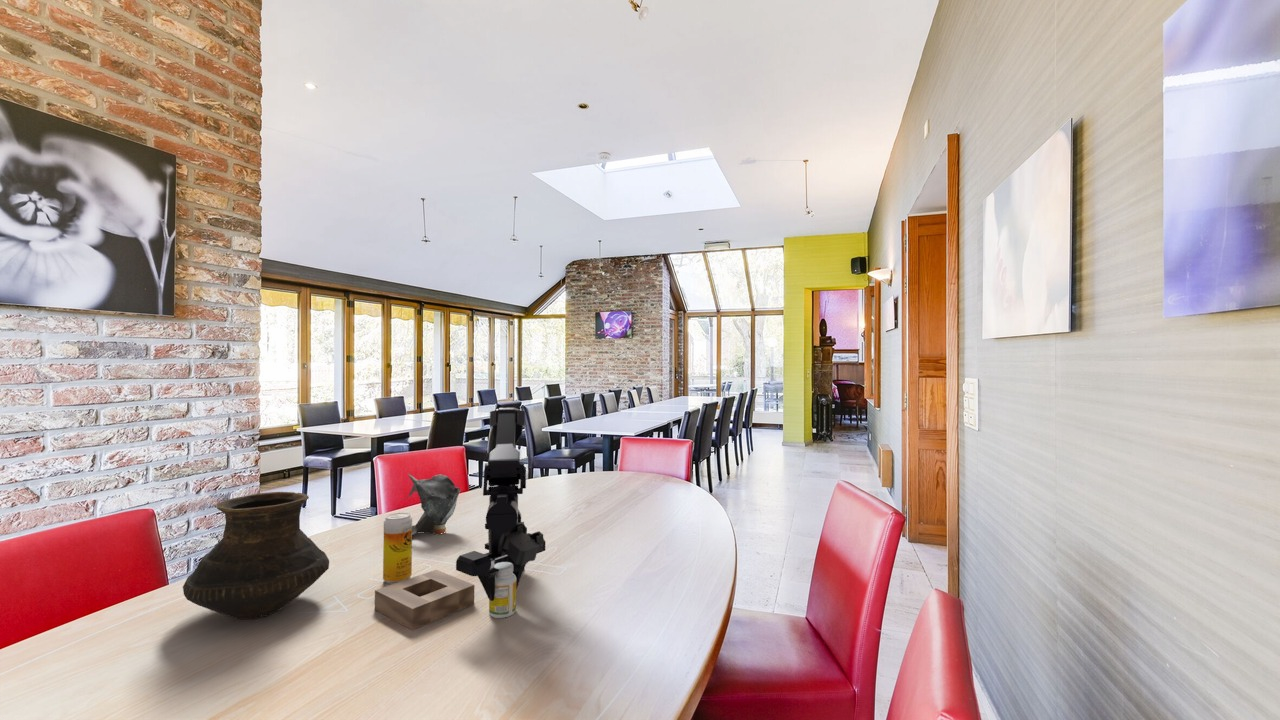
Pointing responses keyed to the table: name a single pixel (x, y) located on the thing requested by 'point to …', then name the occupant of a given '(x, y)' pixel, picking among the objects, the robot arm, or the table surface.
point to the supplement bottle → (504, 592)
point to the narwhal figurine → (435, 503)
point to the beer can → (397, 548)
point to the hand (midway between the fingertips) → (502, 595)
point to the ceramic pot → (257, 558)
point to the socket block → (424, 598)
